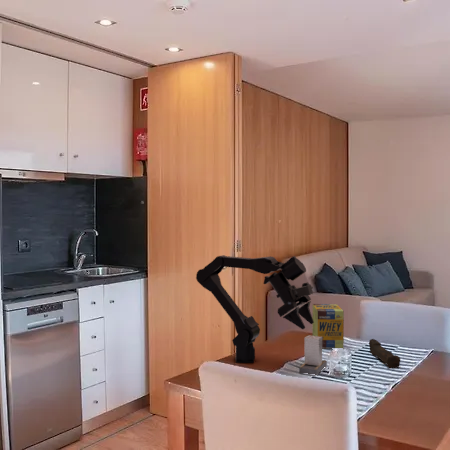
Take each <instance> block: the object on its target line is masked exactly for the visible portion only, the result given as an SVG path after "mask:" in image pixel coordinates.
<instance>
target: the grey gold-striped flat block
mask: <svg viewBox="0 0 450 450" xmlns="http://www.w3.org/2000/svg"><path fill="white" fill-rule="evenodd" d="M326 366H327V367H328V360H326V359H324V360H323V359H322V363H321V364H320V365H319V366H316V365H309V364H305V362H304V363H303V364H301V365H300V367H299V373H308V374H315V375H317V374H318V373H319V372H320V371H321V370H322V369H323V368H324V367H326ZM327 367H326V368H327ZM299 373H298V374H299ZM319 374H320V373H319ZM319 374H318V375H319ZM318 375H317V376H318Z"/></svg>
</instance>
